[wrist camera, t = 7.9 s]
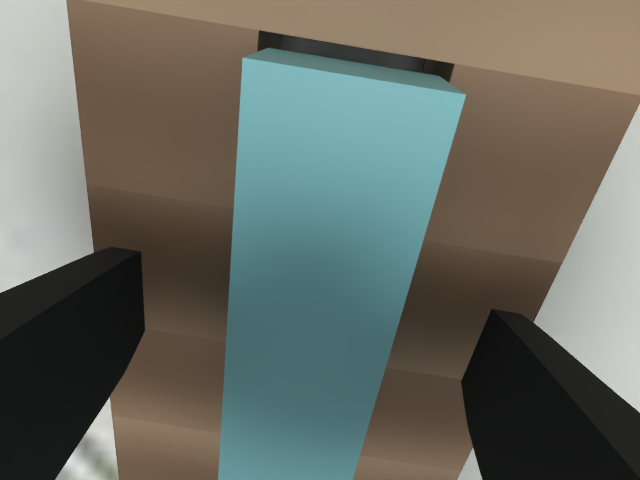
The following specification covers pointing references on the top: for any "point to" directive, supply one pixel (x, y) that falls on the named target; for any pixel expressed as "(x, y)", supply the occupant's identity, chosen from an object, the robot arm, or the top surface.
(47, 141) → the top surface
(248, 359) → the teal bridge block
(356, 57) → the top surface
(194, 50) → the brown wooden board
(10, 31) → the top surface
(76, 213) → the top surface
